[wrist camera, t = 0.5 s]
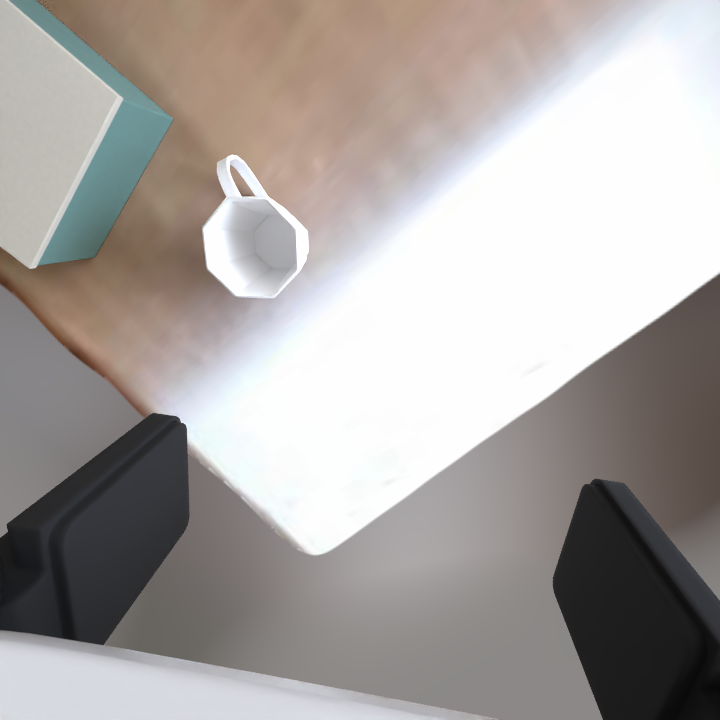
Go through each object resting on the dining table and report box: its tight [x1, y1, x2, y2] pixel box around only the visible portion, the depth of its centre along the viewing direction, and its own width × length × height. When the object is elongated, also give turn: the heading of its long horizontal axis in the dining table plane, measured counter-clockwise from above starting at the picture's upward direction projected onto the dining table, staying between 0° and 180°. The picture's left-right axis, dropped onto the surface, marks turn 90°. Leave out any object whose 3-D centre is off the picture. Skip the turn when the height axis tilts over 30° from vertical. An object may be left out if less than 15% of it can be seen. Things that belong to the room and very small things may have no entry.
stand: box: [0, 0, 173, 269], centre depth 32 cm, size 14×16×7 cm
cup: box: [202, 155, 309, 298], centre depth 32 cm, size 7×10×8 cm
